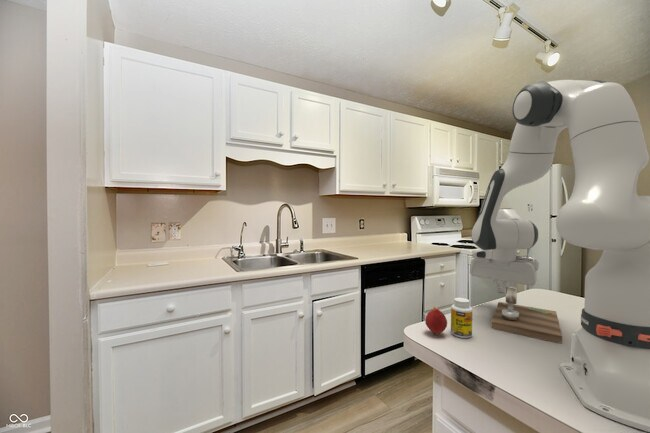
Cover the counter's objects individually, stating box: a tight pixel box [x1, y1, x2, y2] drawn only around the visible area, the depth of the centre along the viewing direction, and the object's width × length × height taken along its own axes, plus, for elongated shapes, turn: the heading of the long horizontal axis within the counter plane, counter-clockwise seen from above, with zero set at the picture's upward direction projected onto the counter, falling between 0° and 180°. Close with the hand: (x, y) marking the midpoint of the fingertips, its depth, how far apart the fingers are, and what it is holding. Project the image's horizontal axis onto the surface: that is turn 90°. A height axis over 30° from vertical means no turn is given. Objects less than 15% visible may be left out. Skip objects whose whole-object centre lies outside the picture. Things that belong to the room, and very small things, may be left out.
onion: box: [424, 306, 448, 335], centre depth 82 cm, size 6×6×8 cm
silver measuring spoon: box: [502, 286, 519, 320], centre depth 93 cm, size 17×4×6 cm, turn 146°
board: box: [490, 301, 563, 344], centre depth 91 cm, size 23×16×2 cm
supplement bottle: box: [450, 297, 473, 339], centre depth 82 cm, size 6×6×10 cm
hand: (501, 292), depth 101 cm, fingers closed
